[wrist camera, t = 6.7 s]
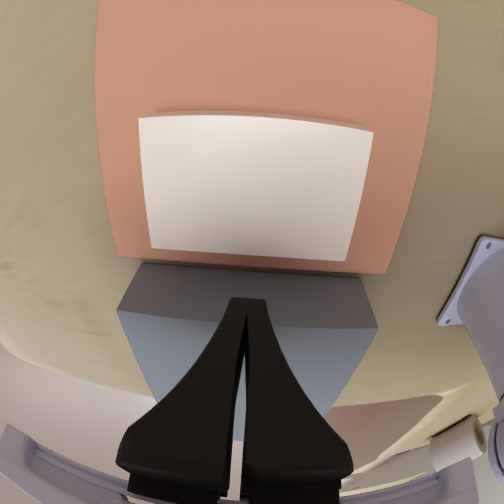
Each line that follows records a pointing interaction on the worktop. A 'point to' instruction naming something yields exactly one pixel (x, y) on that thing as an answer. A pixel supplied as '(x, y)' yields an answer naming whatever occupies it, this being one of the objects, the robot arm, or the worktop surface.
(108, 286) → the worktop surface
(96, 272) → the worktop surface
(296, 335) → the plate
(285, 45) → the terracotta mat
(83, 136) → the worktop surface
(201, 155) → the white rectangular block
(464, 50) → the worktop surface
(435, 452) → the toilet paper
